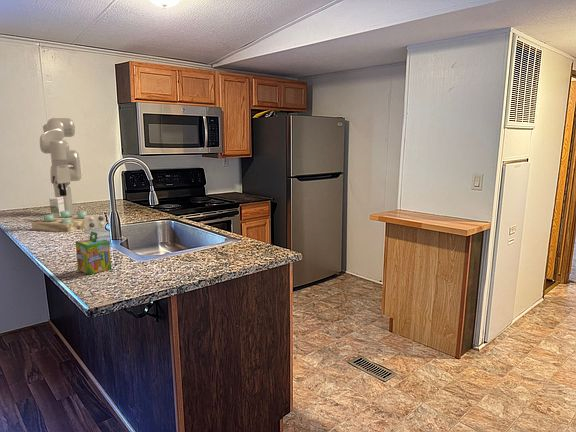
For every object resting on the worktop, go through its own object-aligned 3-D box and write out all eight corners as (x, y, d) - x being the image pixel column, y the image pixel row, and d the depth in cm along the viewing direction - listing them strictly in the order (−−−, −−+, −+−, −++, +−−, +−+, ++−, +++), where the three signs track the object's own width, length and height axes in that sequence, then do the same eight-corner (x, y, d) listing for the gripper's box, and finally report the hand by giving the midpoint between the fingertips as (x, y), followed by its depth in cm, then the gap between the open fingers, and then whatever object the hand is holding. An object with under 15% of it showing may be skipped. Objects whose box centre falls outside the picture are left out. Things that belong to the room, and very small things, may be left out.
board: (65, 221, 250) (64, 215, 249) (98, 223, 243) (98, 216, 243) (32, 229, 227) (31, 222, 226) (67, 232, 221) (67, 224, 220)
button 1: (49, 221, 233) (48, 214, 232) (55, 221, 232) (55, 214, 231) (42, 222, 229) (41, 215, 228) (49, 223, 227) (48, 216, 227)
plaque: (85, 228, 229) (84, 216, 228) (108, 226, 234) (107, 214, 233) (85, 228, 228) (84, 216, 226) (108, 226, 233) (107, 214, 231)
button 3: (66, 225, 231) (66, 218, 230) (73, 226, 229) (73, 219, 229) (60, 227, 226) (59, 220, 225) (67, 227, 225) (66, 220, 224)
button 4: (82, 217, 241) (81, 211, 241) (88, 218, 240) (88, 211, 240) (75, 219, 237) (75, 212, 236) (82, 219, 236) (82, 213, 235)
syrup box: (66, 219, 256) (63, 196, 253) (60, 221, 250) (57, 198, 247) (57, 219, 256) (55, 196, 254) (51, 221, 251) (48, 197, 248)
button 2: (65, 217, 245) (64, 210, 244) (71, 217, 243) (71, 210, 243) (59, 218, 240) (58, 212, 239) (65, 219, 239) (65, 212, 238)
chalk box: (77, 270, 155) (73, 233, 152) (101, 265, 162) (97, 228, 159) (88, 275, 150) (84, 236, 147) (112, 269, 157) (109, 232, 154)
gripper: (64, 162, 233) (68, 193, 237) (42, 163, 219) (47, 197, 223) (75, 162, 231) (78, 194, 235) (54, 164, 217) (58, 198, 221)
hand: (63, 195), depth 229 cm, fingers closed
